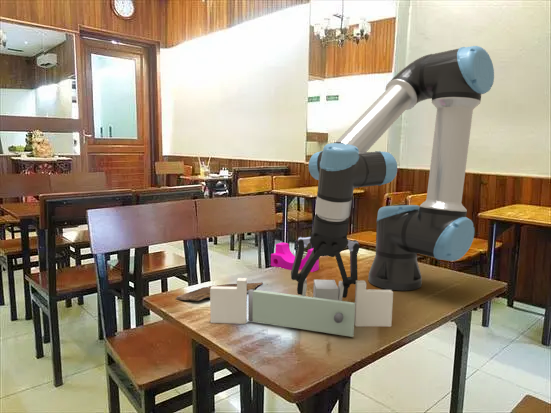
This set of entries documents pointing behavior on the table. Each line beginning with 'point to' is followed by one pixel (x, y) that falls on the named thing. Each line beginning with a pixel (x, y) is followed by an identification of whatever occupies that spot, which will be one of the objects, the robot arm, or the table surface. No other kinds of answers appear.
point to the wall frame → (368, 305)
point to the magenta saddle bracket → (289, 258)
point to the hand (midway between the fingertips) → (320, 307)
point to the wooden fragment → (205, 292)
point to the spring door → (302, 312)
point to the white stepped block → (325, 289)
